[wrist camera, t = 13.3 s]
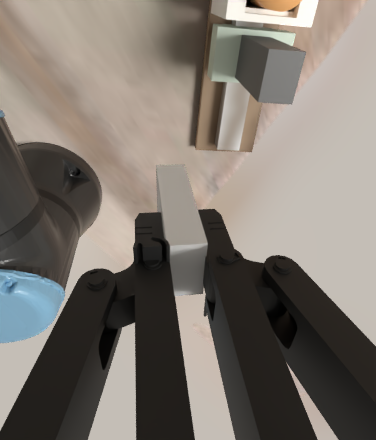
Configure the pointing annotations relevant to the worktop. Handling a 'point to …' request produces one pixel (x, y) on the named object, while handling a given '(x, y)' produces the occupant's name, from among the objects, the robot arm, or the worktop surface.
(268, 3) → the button
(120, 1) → the worktop surface
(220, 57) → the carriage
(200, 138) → the track
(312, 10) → the cabinet
